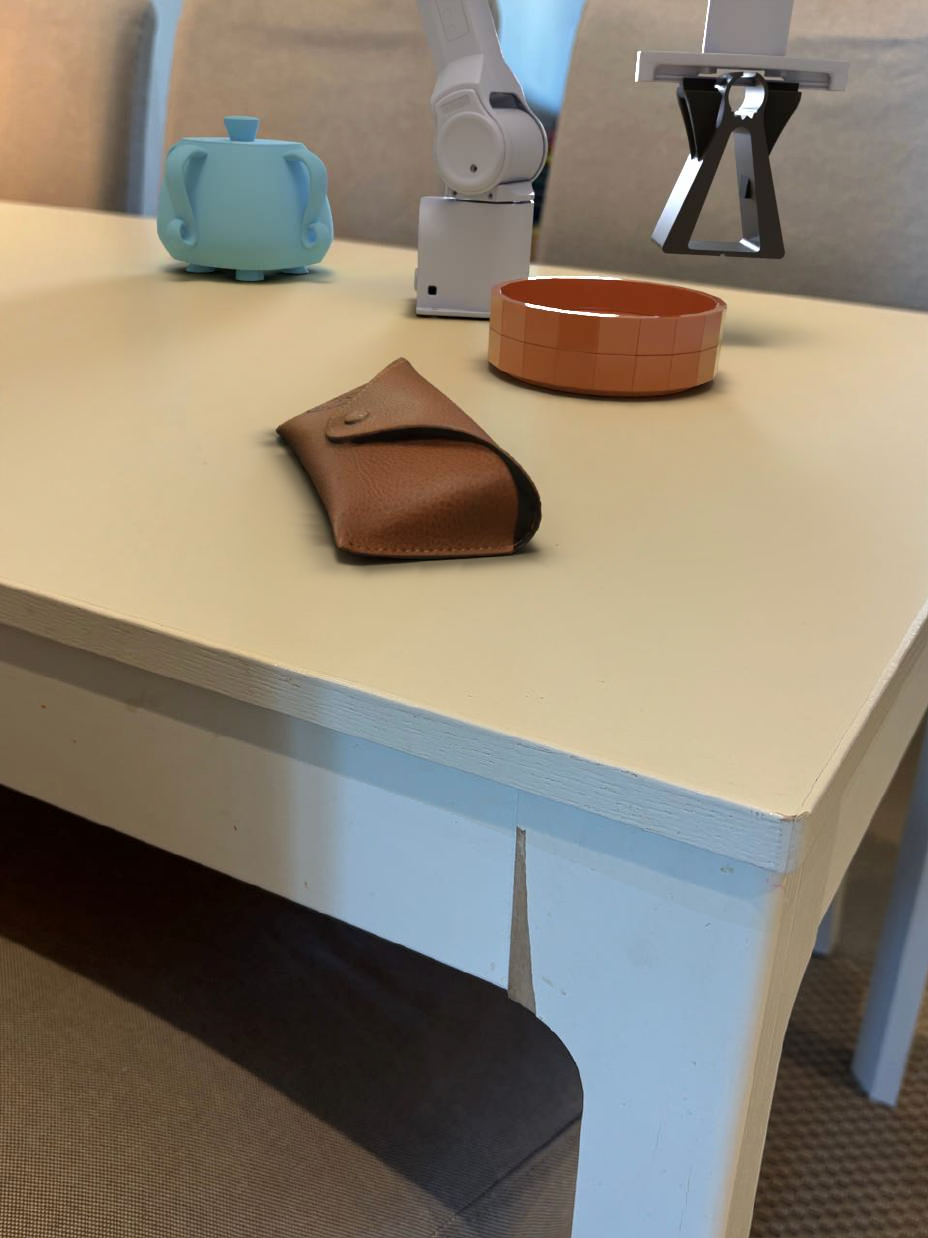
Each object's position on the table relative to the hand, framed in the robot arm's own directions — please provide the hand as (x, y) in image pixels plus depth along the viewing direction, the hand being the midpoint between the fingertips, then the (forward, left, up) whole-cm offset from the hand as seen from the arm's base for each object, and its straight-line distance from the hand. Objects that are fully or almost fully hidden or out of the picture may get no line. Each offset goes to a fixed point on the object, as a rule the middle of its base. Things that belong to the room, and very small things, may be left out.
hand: (723, 196), depth 79 cm
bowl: (-9, -13, -10) cm, 19 cm away
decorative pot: (-40, +22, -11) cm, 47 cm away
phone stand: (0, 0, -4) cm, 4 cm away
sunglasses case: (-21, -38, -11) cm, 45 cm away
